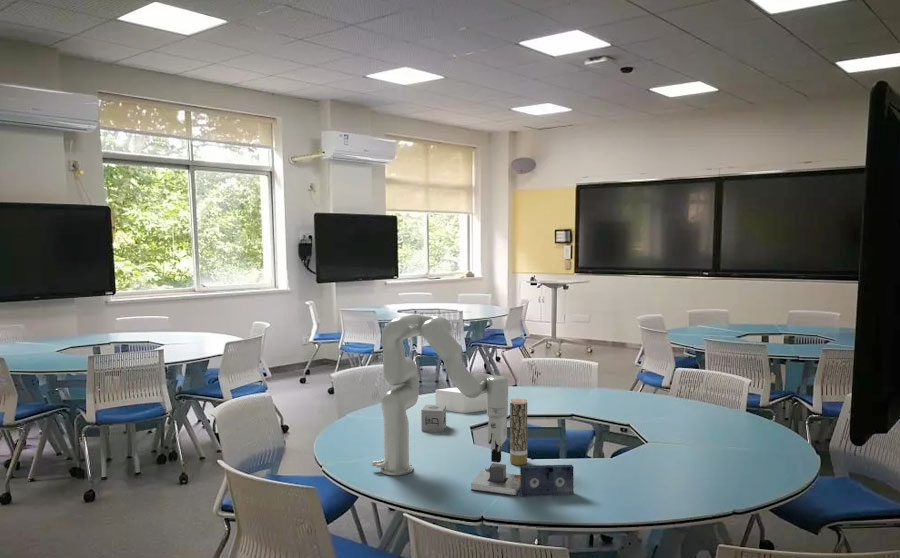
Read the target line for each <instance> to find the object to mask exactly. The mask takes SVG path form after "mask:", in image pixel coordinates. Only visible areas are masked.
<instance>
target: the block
mask: <svg viewBox="0 0 900 558" xmlns="http://www.w3.org/2000/svg"><path fill="white" fill-rule="evenodd" d="M435 405H446V412H455V413H460V414H467V413H474V412H480V411H482V412H483V411H487V393H484V394H481V395H480V396H478V397H476V398H468V397H466V396H465V395H463V394H462V393H461V392H460V391H459V389H458V388H457V387H456V386H455V387H448V388H441V389H440V388H439V389H435Z"/></svg>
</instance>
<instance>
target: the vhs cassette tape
mask: <svg viewBox="0 0 900 558" xmlns="http://www.w3.org/2000/svg"><path fill="white" fill-rule="evenodd" d="M519 467H520V468H519V471H520V473H519V475H520V490H519V493H520V495H521V497H541V496H543V497H544V496H545V497H546V496H547V497H549V496H570V495H571V496H573V495H574V492H575V491H574V487H575V486H574V466H573V464H547V465H546V464H543V465H541V464H540V465H539V464H538V465H519Z"/></svg>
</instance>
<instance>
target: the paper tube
mask: <svg viewBox="0 0 900 558" xmlns="http://www.w3.org/2000/svg"><path fill="white" fill-rule="evenodd" d="M509 458H510V459H509V462H510V463H511V464H512V465H516V466H525V465H526V464H527V462H528V400H527V399H525V398H512V399H510V401H509Z"/></svg>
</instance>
